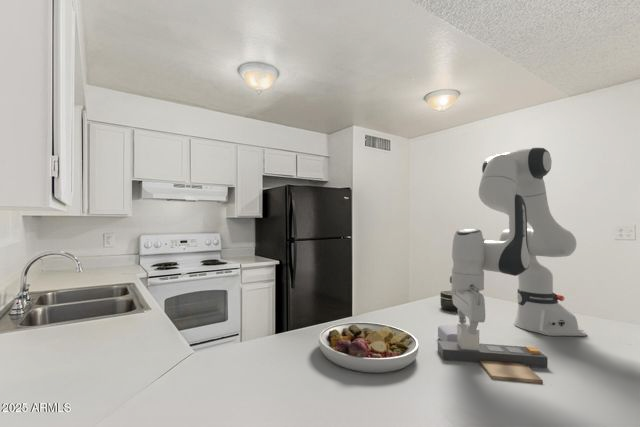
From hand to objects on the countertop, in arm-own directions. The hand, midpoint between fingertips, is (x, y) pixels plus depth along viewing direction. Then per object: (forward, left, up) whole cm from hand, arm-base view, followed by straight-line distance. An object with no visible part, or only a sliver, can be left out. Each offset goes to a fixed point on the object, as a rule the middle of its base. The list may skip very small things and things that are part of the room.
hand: (467, 328), depth 94 cm
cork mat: (-8, +8, -9) cm, 14 cm away
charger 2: (0, 0, -7) cm, 7 cm away
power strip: (-6, 0, -9) cm, 11 cm away
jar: (-9, -55, -9) cm, 57 cm away
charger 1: (+1, -14, -9) cm, 17 cm away
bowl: (+30, +3, -9) cm, 31 cm away
